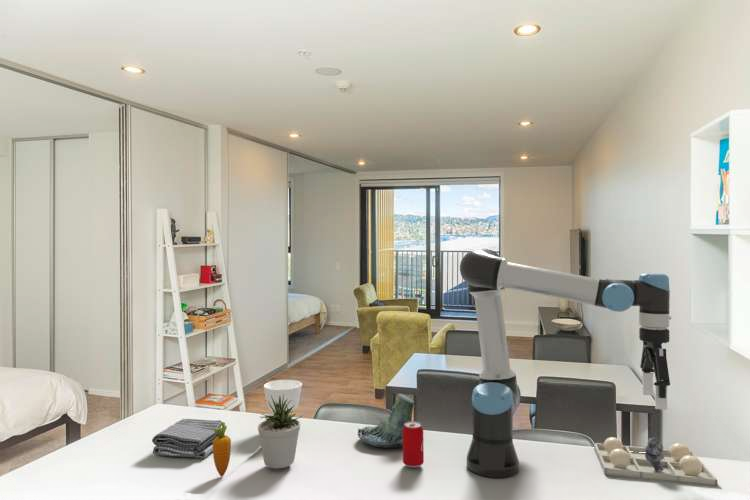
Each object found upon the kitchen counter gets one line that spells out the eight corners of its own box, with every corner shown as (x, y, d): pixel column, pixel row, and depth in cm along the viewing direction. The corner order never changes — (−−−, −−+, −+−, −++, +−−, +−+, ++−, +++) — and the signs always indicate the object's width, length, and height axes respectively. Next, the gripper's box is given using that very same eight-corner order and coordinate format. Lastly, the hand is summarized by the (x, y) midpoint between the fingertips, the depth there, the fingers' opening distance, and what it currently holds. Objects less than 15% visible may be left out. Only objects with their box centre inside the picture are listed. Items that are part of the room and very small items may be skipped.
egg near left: (611, 470, 141) (611, 451, 141) (607, 462, 147) (607, 444, 147) (632, 472, 140) (632, 454, 140) (627, 464, 145) (627, 446, 145)
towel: (179, 438, 169) (178, 415, 169) (228, 442, 165) (227, 419, 165) (150, 456, 154) (150, 431, 154) (203, 461, 151) (203, 435, 151)
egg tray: (604, 474, 140) (604, 467, 140) (594, 448, 158) (593, 442, 158) (717, 487, 132) (717, 479, 132) (692, 458, 151) (692, 451, 151)
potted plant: (311, 461, 150) (311, 395, 150) (274, 476, 140) (274, 406, 140) (286, 449, 158) (286, 387, 158) (249, 463, 148) (249, 397, 148)
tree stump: (360, 424, 178) (380, 379, 179) (411, 449, 176) (431, 403, 176) (352, 439, 160) (374, 389, 161) (408, 468, 157) (431, 416, 158)
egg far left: (605, 457, 150) (605, 440, 150) (602, 450, 155) (602, 433, 155) (625, 459, 149) (625, 441, 149) (621, 452, 154) (621, 435, 154)
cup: (257, 434, 172) (257, 388, 172) (272, 420, 185) (271, 378, 185) (295, 436, 170) (294, 390, 170) (307, 422, 183) (306, 380, 183)
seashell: (668, 476, 138) (668, 440, 138) (647, 474, 139) (647, 439, 139) (661, 468, 143) (661, 433, 143) (641, 466, 144) (641, 432, 144)
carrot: (220, 482, 136) (220, 428, 136) (208, 477, 139) (208, 424, 139) (234, 475, 141) (234, 422, 141) (222, 471, 143) (222, 419, 143)
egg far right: (672, 464, 145) (672, 446, 145) (667, 457, 151) (666, 439, 151) (693, 466, 144) (693, 448, 144) (686, 458, 149) (686, 441, 149)
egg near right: (683, 478, 137) (682, 458, 137) (676, 469, 142) (676, 451, 142) (705, 480, 135) (705, 461, 135) (698, 472, 140) (697, 453, 140)
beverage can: (426, 461, 149) (426, 422, 149) (419, 470, 143) (419, 429, 143) (407, 458, 152) (407, 419, 152) (399, 466, 146) (399, 425, 146)
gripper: (683, 335, 128) (683, 417, 128) (656, 321, 152) (656, 390, 152) (651, 334, 130) (651, 414, 130) (629, 320, 154) (629, 388, 154)
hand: (654, 401), depth 141 cm, fingers open, 13 cm apart
